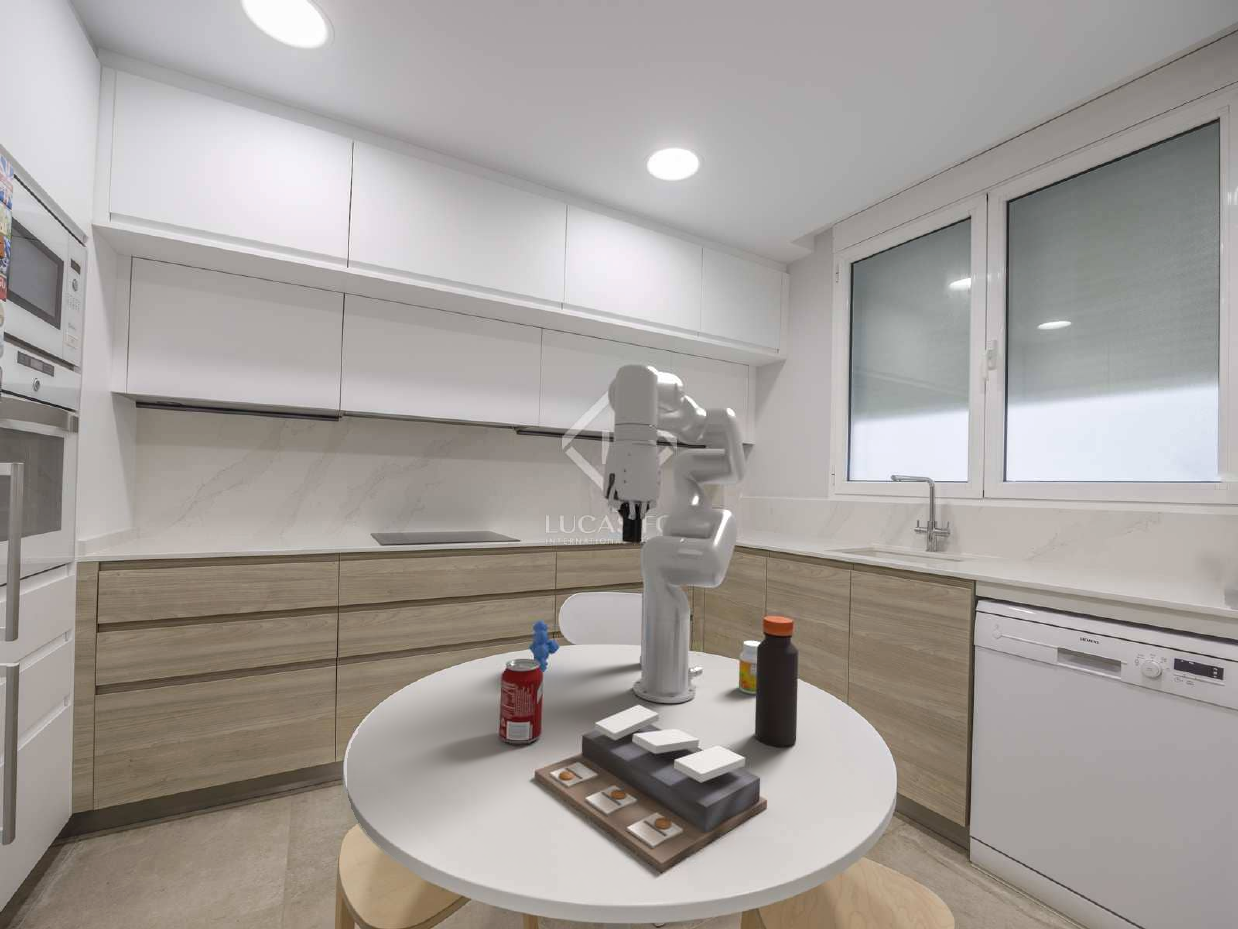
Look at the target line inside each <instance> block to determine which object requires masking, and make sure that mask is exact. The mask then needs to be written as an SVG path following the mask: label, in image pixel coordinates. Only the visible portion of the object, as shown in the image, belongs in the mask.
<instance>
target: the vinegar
mask: <svg viewBox="0 0 1238 929" xmlns="http://www.w3.org/2000/svg"><path fill="white" fill-rule="evenodd" d="M762 623H763V624H762V626H763V627H762V631H763V636H764V639H763V640H762V641H761V642H760V644H759V645H758V647H757V673H756V694H755V712H754V713H755V714H754V721H755V722H754V735H755V737H756V739H758V741H760V742H761V743H764V744H766V745H769V746H773V747H779V748H780V747H781V748H783V747H784V748H785V747H790V746H792V745H794V744H795V743H796V742H797V729H798V727H797V720H798V687H799V686H798V683H799V682H798V680H799V678H798V677H799V675H798V674H799V651H798V648H797V647H796V646H795V645H794V643H793V642H792V638H793V635H794V620H793V619H792V618H789V617H785V616H776V615H771V616H770V615H768V616H765V617H763V622H762Z"/></svg>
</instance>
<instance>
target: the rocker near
mask: <svg viewBox="0 0 1238 929" xmlns="http://www.w3.org/2000/svg"><path fill="white" fill-rule="evenodd" d="M702 750H703V751H700V752H697V753H694V754H691V755H688V756H685V757H682V758H679V759H676V760H675V762H674V768H675V769H677V770H679V771H681V772H682V773H684V774H686V775H688V776H690V777H692V778H694V779H695V780H697V781H699V782H704V781H706V780H709V779H712V778H714V777H717V776H719V775H722V774H725V773H727V772H730V771H732V770H735V769H737V768H743V767H745V766H746V765H745V764H746V757H745V756H742V755H740V754H738V753H735V752H733V751H731V750H729V749H727V748H725V747H723V746H720V745H716V746H713V747H710V748H706V749H702Z"/></svg>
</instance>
